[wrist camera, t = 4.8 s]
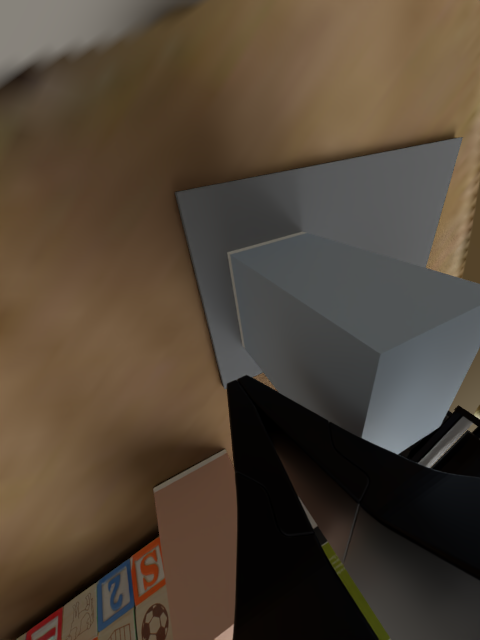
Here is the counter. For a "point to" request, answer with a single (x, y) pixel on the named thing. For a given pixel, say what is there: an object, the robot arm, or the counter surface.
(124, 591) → the stack of blocks
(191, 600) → the dusty pink block
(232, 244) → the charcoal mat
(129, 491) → the counter surface
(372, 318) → the slate blue block
